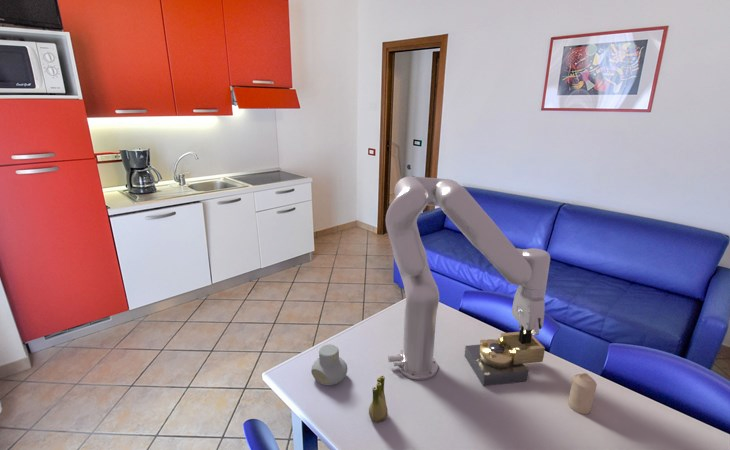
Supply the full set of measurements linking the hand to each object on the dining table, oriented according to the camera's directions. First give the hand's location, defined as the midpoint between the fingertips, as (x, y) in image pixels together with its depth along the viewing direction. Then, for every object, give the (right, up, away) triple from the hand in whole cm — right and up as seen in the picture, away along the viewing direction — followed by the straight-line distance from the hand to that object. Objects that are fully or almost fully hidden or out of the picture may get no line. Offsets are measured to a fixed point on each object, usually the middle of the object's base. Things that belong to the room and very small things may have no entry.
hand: (524, 342), depth 115 cm
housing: (-9, -9, +2) cm, 13 cm away
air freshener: (-61, -10, -2) cm, 62 cm away
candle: (+9, -14, -13) cm, 21 cm away
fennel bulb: (-47, -15, -17) cm, 52 cm away
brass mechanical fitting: (-5, -5, +1) cm, 7 cm away
